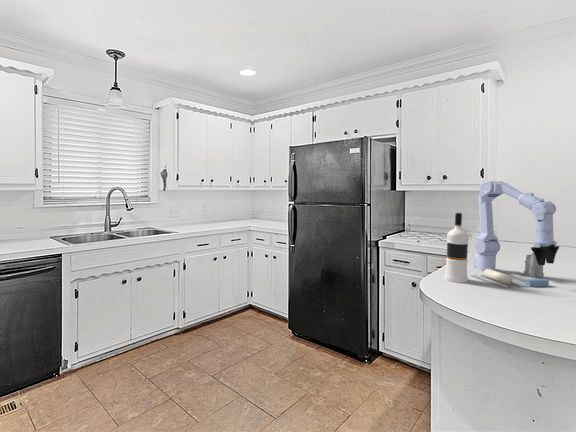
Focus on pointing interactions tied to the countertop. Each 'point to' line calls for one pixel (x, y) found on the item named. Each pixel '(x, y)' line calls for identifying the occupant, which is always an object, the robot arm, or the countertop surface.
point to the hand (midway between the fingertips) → (545, 264)
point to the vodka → (457, 253)
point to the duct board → (517, 282)
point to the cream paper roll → (498, 276)
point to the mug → (533, 267)
